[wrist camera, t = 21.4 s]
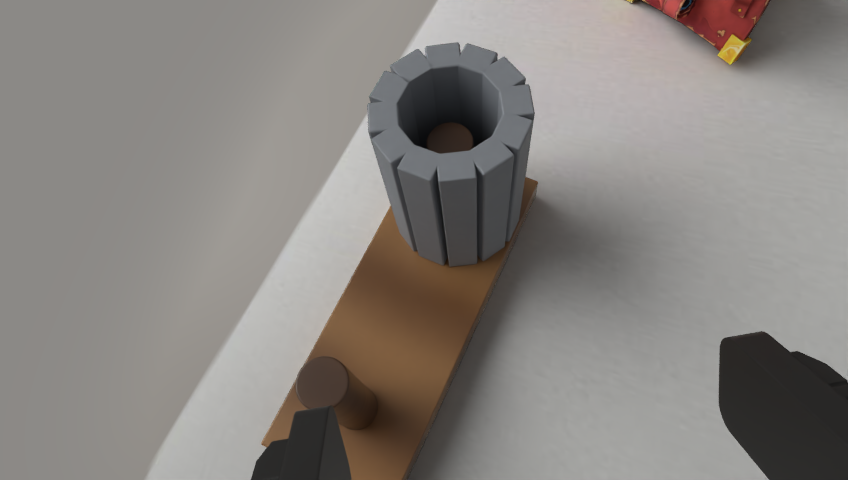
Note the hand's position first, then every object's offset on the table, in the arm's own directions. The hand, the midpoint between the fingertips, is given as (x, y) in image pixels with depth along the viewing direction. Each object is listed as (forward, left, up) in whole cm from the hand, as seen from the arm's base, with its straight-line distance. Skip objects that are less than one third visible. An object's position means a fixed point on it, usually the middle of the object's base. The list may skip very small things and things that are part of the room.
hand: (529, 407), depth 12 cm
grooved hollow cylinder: (+9, +6, -13) cm, 17 cm away
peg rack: (+4, +6, -14) cm, 16 cm away
